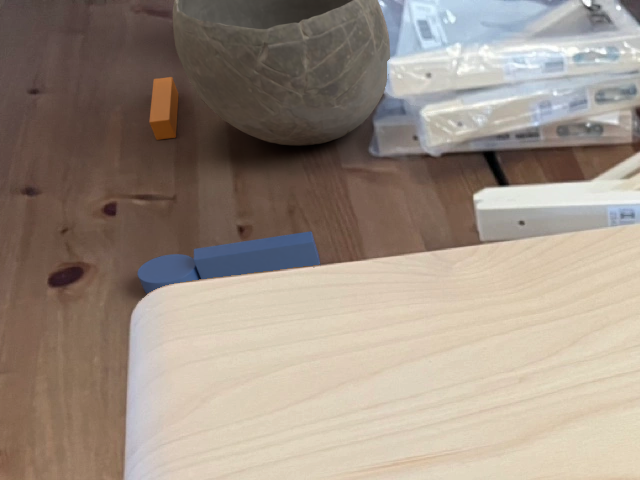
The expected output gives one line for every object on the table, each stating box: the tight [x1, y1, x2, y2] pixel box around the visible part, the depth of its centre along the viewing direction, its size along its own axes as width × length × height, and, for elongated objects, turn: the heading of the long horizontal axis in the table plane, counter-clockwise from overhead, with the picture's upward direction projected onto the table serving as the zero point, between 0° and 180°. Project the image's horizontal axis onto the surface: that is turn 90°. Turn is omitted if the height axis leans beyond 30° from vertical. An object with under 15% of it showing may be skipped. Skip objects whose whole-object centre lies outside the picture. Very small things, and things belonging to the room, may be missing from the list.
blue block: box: [136, 230, 321, 295], centre depth 90 cm, size 15×5×2 cm, turn 109°
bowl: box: [172, 0, 391, 146], centre depth 106 cm, size 20×20×15 cm
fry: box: [149, 76, 180, 141], centre depth 113 cm, size 12×2×2 cm, turn 19°
